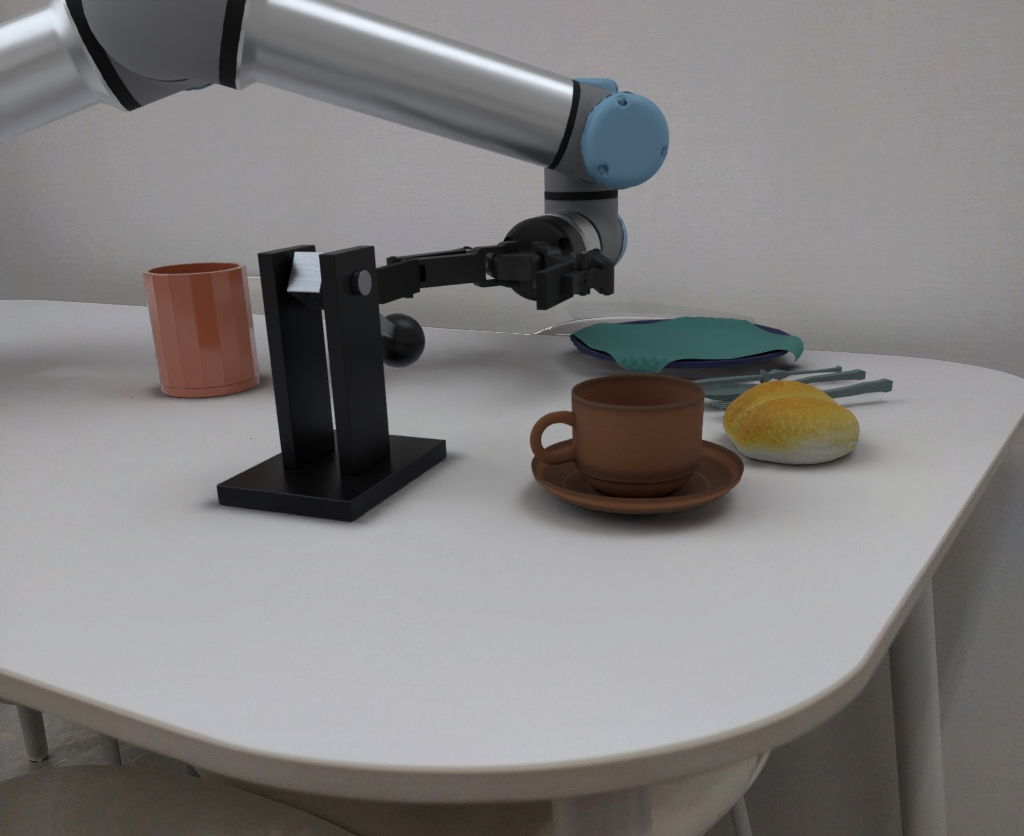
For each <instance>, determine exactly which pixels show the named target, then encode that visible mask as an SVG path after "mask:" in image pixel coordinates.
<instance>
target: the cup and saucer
mask: <svg viewBox="0 0 1024 836" xmlns="http://www.w3.org/2000/svg"><path fill="white" fill-rule="evenodd" d="M703 387H704V386H701V385H700V384H698V383H696V382H693V381H692V380H690V379H686V378H683V377H677V376H671V375H663V374H652V373H651V374H650V373H649V374H647V373H630V374H629V373H628V374H627V373H626V374H625V373H624V374H614V375H604V376H599V377H594V378H588V379H586V380H583V381H580V382H578V383H576V384H575V385H574V386H572V388H571V391H570V392H571V393H570V394H571V395H570V396H571V397H570V399H571V400H570V401H571V411H569V410H557V411H552V412H548V413H546V414H545V415H543V416H541V417H540V418H539V419H537V421H536V422H535V423H534V425H533V426H532V428H531V431H530V435H529V447H530V450H531V452H532V454H533V455H534V456H533V458H531V461H530V467H531V472H532V476H533V477H534V480H535V481H536V482H537V484H538V485H540V487H542V488H543V489H544V490H545V491H546V492H548V494H550V495H552V496H553V497H555V498H557V499H559V500H561V501H564V502H566V503H569V504H571V505H574V506H577V507H581V508H584V509H587V510H588V509H589V510H594V511H598V512H605V513H612V514H623V515H624V514H625V515H655V514H657V515H658V514H668V513H675V512H681V511H686V510H691V509H694V508H698V507H702V506H705V505H707V504H710V503H712V502H714V501H716V500H718V499H721V498H722V497H724V496H725V495H726V494H728V493H729V492H730V491H732V490H733V489H734V488H735V487H736V486H738V485H739V483H740V482H741V480H742V477H743V474H744V471H745V463H744V461H743V459H742V458H741V456H740V455H738V454H737V453H736V452H735V451H733V450H731V449H730V448H728V447H726V446H724V445H721V444H718V443H716V442H712V441H711V440H710V441H708V440H705V439H703V432H704V431H703V430H704V429H703V428H704V412H705V398H704V397H705V390H704V388H703ZM555 424H556V425H557V424H564V425H567V426H569V427H571V438H567V439H565V440H561V441H558V442H555V443H553V444H550V445H548V446H546V447H544V445H543V443H542V442H543V441H542V438H543V434H544V432H545V431H546V429H548V428H549V427H550V426H552V425H555Z"/></svg>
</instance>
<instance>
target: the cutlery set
mask: <svg viewBox="0 0 1024 836" xmlns="http://www.w3.org/2000/svg"><path fill="white" fill-rule="evenodd" d="M569 340H570V341H571V342H572V343H573V345H574V346H575V348H576V349H577V350H578V351H579V352H581V353H582V354H585V355H587V356H590V357H592V358H596V359H598V360H603V361H606V362H607V361H608V362H611V363H612V362H613V363H617V364H618V365H619V366H620V367H621V368H623V370H626V371H630V372H636V371H639V372H642V373H646V372H647V373H648V372H649V373H651V374H652V373H653V374H658V373H660V372H661V371H662V370H663V369H680V370H681V369H685V370H688V369H689V370H690V369H691V370H702V369H717V368H718V369H719V368H720V369H723V368H734V367H740V366H747V365H754V364H760V363H763V362H767V361H769V360H773V359H777V358H780V357H782V356H785V355H786V354H788V353H789V352H790V353H791V354H792V355H793V356H794V357H795V358H794V362H793V363H792V365H794V364H796V362H797V361H798V360H799V359H800V358H801V356H802V355H803V353H804V350H805V349H804V348H805V346H804V342H803V340H802V339H801V338H800V337H799V336H797V335H794V334H793V335H792V334H790V333H788V332H786V331H784V330H781V329H779V328H775V327H771V326H767V325H762V324H758V323H752V322H750V321H749V320H746V319H739V318H738V319H737V318H731V317H730V318H729V317H728V318H724V317H713V316H709V317H707V316H688V315H687V316H680V317H675V318H660V319H641V320H633V321H632V320H631V321H624V322H616V323H615V322H614V323H613V322H598V323H593V324H591V325H588V326H585V327H582V328H580V329H578V330H576V331H574V332H572V333H570V335H569ZM808 374H809V375H810V374H817V375H810V376H806V377H802V378H798V379H793V380H792V379H791V381H797V382H801V383H804V384H808V385H811V384H818V383H819V384H820V383H829V382H830V383H831V382H840V381H862V380H866V376H867V375H866V374H867V371H866V370H863V369H860V368H855V369H849V370H845V371H843V367H842V366H841V365H836V366H835V367H827V368H819V369H808V370H807V369H800V370H799V369H798V370H791V371H786V370H780V369H775V368H773V369H771V370H770V371H766V370H764V369H760V370H759V374H750V375H734V376H723V377H711V378H701V379H695V380H691V381H693V382H696V383H698V384H700V385H701V386H702V387H703V388H704V390H705V397H704V399H708V400H711V401H719V402H712V403H711V406H712V407H715V408H716V409H719V410H720V411H726V409H727V407H728V406H729V405H730V404H731V403H732V402H733V401H734V400H735V399H736V398H737V397H739V396H740V395H741V394H743V393H744V392H746V391H747V390H749V389H751V388H753V387H755V386H756V385H759V384H761V383H764V382H769V381H772V380H775V381H776V380H785V378H788V377H790V376H798V375H808ZM750 382H759V383H750ZM893 384H894V380H891V379H889V378H884V377H883V378H881V379H876V380H868V381H862V382H858V383H854V384H850V385H845V386H840V387H834V388H830V389H829V388H828V389H823V390H822V389H821V390H822V391H823V392H824V393H826V394H827V395H828V396H830V397H831V398H832V399H833V400H834V399H840V398H847V397H848V398H849V397H854V396H859V395H865V394H871V393H872V394H873V393H890V392H893ZM720 401H721V402H720Z"/></svg>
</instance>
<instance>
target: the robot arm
mask: <svg viewBox="0 0 1024 836" xmlns="http://www.w3.org/2000/svg"><path fill="white" fill-rule="evenodd" d="M258 83H259V84H261V85H265V86H269V87H272V88H275V89H279V90H282V91H285V92H289V93H292V94H296V95H299V96H303V97H305V98H310V99H312V100H316V101H319V102H322V103H327V104H330V105H333V106H337V107H340V108H342V109H346V110H350V111H353V112H357V113H360V114H363V115H367V116H370V117H374V118H377V119H379V120H383V121H387V122H389V123H393V124H397V125H400V126H404V127H407V128H410V129H414V130H417V131H421V132H424V133H427V134H431V135H434V136H437V137H439V138H445V139H447V140H451V141H454V142H457V143H461V144H465V145H468V146H471V147H475V148H477V149H481V150H484V151H488V152H491V153H494V154H498V155H500V156H501V155H502V156H504V157H507V158H512V159H515V160H518V161H522V162H525V163H527V164H528V163H529V164H531V165H535V166H539V167H542V168H543V180H544V181H543V182H544V183H543V185H544V186H543V187H544V191H543V192H544V193H543V195H544V196H543V197H544V199H543V201H544V203H543V204H544V205H543V207H544V214H540V215H538V216H534V217H530V218H526V219H524V220H521V221H519V222H518V223H516V224H515V225H514V226H513V227H512V228H510V230H509V231H508V232H507V233H506V235H505V237H504V238H503V240H502V241H499V242H498V243H497V244H492V245H482V246H474V247H472V246H470V245H463V247H459V248H454V249H448V250H440V251H431V252H425V253H424V252H423V253H416V254H409V255H400V256H397V255H390V256H389V257H388V256H387V257H385V260H386V265H382V266H378V267H376V273H377V286H378V299H379V305H385V304H388V303H392V302H394V301H397V300H400V299H403V298H404V299H414V295H415V294H419V293H421V289H428V288H438V287H448V286H456V285H458V286H459V285H467V284H473V285H474V286H475V287H479V288H483V289H484V288H485V289H486V288H493V287H503V288H509V289H511V290H512V291H513V292H514V293H515V294H516V295H518V296H519V297H521V298H523V299H526V300H528V301H533V302H535V303H536V304H535V305H536V311H547V310H550V309H552V308H554V307H556V306H558V305H560V304H561V303H564V302H566V301H567V300H570V299H572V298H574V295H575V296H576V295H577V296H580V297H586V296H589V295H591V290H592V289H593V290H594V291H596V293H598V294H599V295H603V296H606V297H607V296H611V295H613V294H615V267H616V266H617V265H618V264H619V263H620V262H621V260H622V259H623V257H624V255H625V253H626V251H627V247H628V230H627V226H626V224H625V222H624V220H623V218H622V216H621V215H620V214H619V191H622V190H627V189H630V188H633V187H637V186H640V185H642V184H645V183H647V182H648V181H649V180H651V179H652V178H653V177H654V176H655V175H656V174H657V173H658V172H659V171H660V170H661V168H662V166H663V164H664V163H665V161H666V158H667V156H668V152H669V147H670V131H669V124H668V121H667V119H666V116H665V115H664V113H663V111H662V110H661V109H660V107H659V106H658V105H657V104H656V102H653V101H652V100H651V99H650V98H648V97H646V96H643V95H642V94H637V93H635V92H631V91H627V90H625V91H619V85H618V83H617V82H616V81H615V80H614V79H612V78H608V77H607V78H606V77H577V78H576V77H575V78H572V77H569V76H566V75H562V74H560V73H557V72H553V71H551V70H547V69H544V68H541V67H539V66H535V65H532V64H529V63H526V62H524V61H520V60H517V59H513V58H510V57H508V56H505V55H503V54H498V53H496V52H493V51H490V50H486V49H483V48H481V47H477V46H473V45H471V44H468V43H465V42H462V41H459V40H456V39H453V38H450V37H446V36H445V35H444V36H443V35H440V34H437V33H434V32H431V31H429V30H425V29H423V28H419V27H415V26H413V25H410V24H407V23H404V22H401V21H398V20H394V19H391V18H388V17H386V16H382V15H380V14H376V13H373V12H370V11H368V10H364V9H361V8H358V7H355V6H352V5H349V4H346V3H343V2H340V1H336V0H50V1H49V2H48V4H45V5H43V6H40V7H39V8H35V9H33V10H30V11H27V12H26V13H23V14H21V15H18V16H15V17H13V18H10V19H7V20H5V21H3V22H1V23H0V144H2V143H4V142H7V141H10V140H12V139H14V138H17V137H20V136H22V135H25V134H27V133H30V132H32V131H35V130H37V129H40V128H42V127H45V126H48V125H50V124H52V123H55V122H57V121H60V120H63V119H65V118H67V117H69V116H73V115H75V114H77V113H80V112H83V111H85V110H87V109H90V108H93V107H95V106H97V105H100V104H102V105H103V104H104V105H109V106H110V107H113V108H115V109H117V110H120V111H121V112H124V113H129V112H133V111H135V110H138V109H140V108H143V107H145V106H148V105H151V104H152V103H155V102H158V101H160V100H163V99H165V98H168V97H170V96H173V95H175V94H178V93H181V92H183V91H184V92H192V91H201V90H204V89H207V88H209V87H212V86H214V85H220V86H223V87H227V88H230V89H232V90H237V91H240V92H242V91H243V90H245V89H247V88H248V87H250V86H252V85H254V84H258ZM487 276H489V277H490V278H488V279H487Z"/></svg>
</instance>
